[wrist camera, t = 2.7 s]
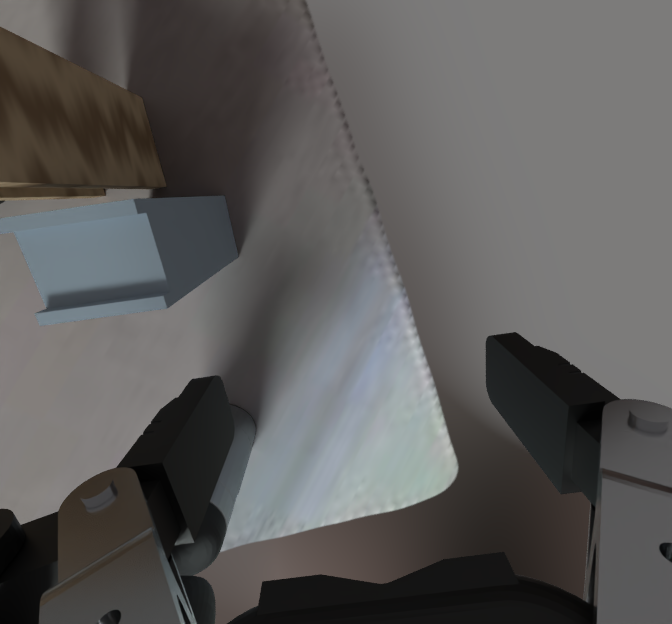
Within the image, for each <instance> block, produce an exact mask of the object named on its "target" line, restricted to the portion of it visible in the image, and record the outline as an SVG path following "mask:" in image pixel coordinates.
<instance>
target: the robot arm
mask: <svg viewBox="0 0 672 624" xmlns="http://www.w3.org/2000/svg"><path fill="white" fill-rule="evenodd" d="M486 387H487V392H488V395H489V398H490V400H491V402H492V404H493V405H494V406H495V408H496V409H497V410H498V412H499V413H500V414H501V416H502V417H503V418H504V419H505V421H506V422H507V424H508V425H509V426H510V428H511V429H512V430H513V432H514V433H515V434H516V436H517V437H518V438H519V440H520V441H521V442H522V444H523V445H524V446H525V448H526V449H527V450H528V452H529V453H530V454H531V456H532V457H533V458H534V459H535V460H536V462H537V463H538V465H539V466H540V467H541V468H542V470H543V471H544V473H545V474H546V475H547V477H548V478H549V479H550V481H551V482H552V483H553V485H554V486H555V487H556V489H557V490H558V491H559V492H560V494H567V493H574V492H583V493H584V495H585V496H586V497H587V498H588V500H589V501H590V502H591V507H590V516H589V531H588V545H587V561H586V575H585V588H584V598H583V600H582V599H581V598H579V597H577V596H575V595H573V594H571V593H569V592H567V591H565V590H563V589H561V588H559V587H557V586H554V585H551V584H549V583H546V582H543V581H540V580H537V579H533V578H529V577H526V576H521V575H515V574H514V572H513V570H512V568H511V565H510V563H509V561H508V559H507V557H506V555H505V553H504V552H499V553H492V554H483V555H475V556H467V557H459V558H451V559H443V560H441V561H439V562H436V563H434V564H432V565H430V566H427V567H425V568H422V569H420V570H418V571H416V572H413V573H411V574H408V575H406V576H404V577H401V578H399V579H397V580H394V581H392V582H389V583H386V584H377V583H370V582H364V581H358V580H351V579H346V578H339V577H333V576H327V575H313V576H305V577H296V578H288V579H280V580H272V581H264V582H262V587H261V593H260V599H259V605H258V606H257V607H254V608H252V609H250V610H248V611H246V612H244V613H243V614H241V615H239V616H237V617H236V618H234V619H233V620H232V621H230V622H229V623H227V624H672V409H671V408H669V407H666V406H663V405H660V404H657V403H654V402H648V401H644V400H636V399H619V398H618V397H617V396H615V395H614V394H612V393H611V392H610V391H608V390H607V389H605V388H604V387H603V386H601V385H600V384H599V383H597V382H596V381H595V380H593V379H592V378H590V377H589V376H588V375H586V374H585V373H581V371H580V370H579V369H578V368H577V367H575V366H574V365H570V362H568V361H567V360H566V359H564V358H563V357H562V356H560V355H559V354H557V353H556V352H553V351H550V350H547V349H545V348H542V347H540V346H533V345H532V344H531V343H530V342H528V341H527V340H526V339H524V338H523V337H522V336H521V335H519V334H518V333H516V332H513V333H506V334H499V335H492V336H488V338H487V340H486ZM255 434H256V427H255V423H254V421H253V419H252V418H251V416H250V415H249V414H248V413H247V412H245V411H244V410H242V409H241V408H239V407H236V406H233V405H229V402H228V399H227V395H226V392H225V388H224V385H223V382H222V380H221V378H220V377H219V376H210V377H203V378H196V379H192V380H191V381H190V382H189V383H188V385H187V386H186V387H185V389H184V390H183V392H182V393H181V394H180V396H179V397H178V398H175V399H173V400H172V401H171V402H169V403H168V404H167V405H166V406H164V407H163V408H162V409H160V411H159V412H158V413H157V415H156V416H155V417H154V419H153V420H152V421H151V424H149V425H148V427H147V428H146V429H145V430H144V432H143V435H141V436H140V437H139V438H138V440H137V441H136V442H135V444H134V445H133V446H132V448H131V449H130V450H129V452H128V453H127V454H126V455H125V457H124V458H123V459H122V461H121V462H120V463H119V465H118V466H117V467H116V468H114V469H110V470H107V471H104V472H102V473H100V474H98V475H96V476H94V477H92V478H90V479H88V480H87V481H85V482H84V483H82V484H81V485H80V486H78V487H77V488H76V489H75V490H74V491H72V492H71V493H70V494H69V495H68V496H67V498H66V499H65V500H64V501H63V503H62V505H61V506H60V509H59V511H58V512H55V513H53V514H50V515H47V516H44V517H42V518H39V519H36V520H33V521H31V522H28V523H25V524H22V525H20V523H19V522H18V520H17V518H16V517H15V515H14V514H13V512H12V511H11V510H8V509H0V624H215V597H214V592H213V589H212V587H211V585H210V584H209V583H208V582H207V580H205V579H204V578H201V577H197V576H193V575H195V574H197V573H199V572H201V571H202V570H204V569H205V568H207V567H208V566H209V565H211V564H212V562H213V561H214V560H215V559H216V557H217V556H218V554H219V552H220V550H221V547H222V544H223V541H224V537H225V534H226V531H227V527H228V524H229V521H230V517H231V514H232V511H233V507H234V504H235V501H236V497H237V495H238V493H239V490H240V487H241V483H242V480H243V477H244V473H245V470H246V467H247V463H248V460H249V457H250V453H251V450H252V445H253V441H254V438H255Z"/></svg>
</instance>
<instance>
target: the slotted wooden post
mask: <svg viewBox="0 0 672 624" xmlns="http://www.w3.org/2000/svg"><path fill="white" fill-rule="evenodd" d="M163 187H167V186H166V182H165V179H164V175H163V171H162V168H161V164H160V161H159V157H158V153H157V150H156V146H155V143H154V139H153V135H152V132H151V128H150V125H149V121H148V117H147V114H146V110H145V107H144V103H143V99H142V97H140V96H138V95H136V94H134V93H132V92H130V91H128V90H126V89H124V88H122V87H120V86H118V85H116V84H114V83H112V82H110V81H108V80H106V79H104V78H102V77H100V76H98V75H96V74H94V73H92V72H90V71H88V70H86V69H84V68H82V67H80V66H78V65H76V64H74V63H72V62H70V61H68V60H66V59H64V58H62V57H60V56H58V55H56V54H54V53H52V52H50V51H48V50H46V49H44V48H42V47H40V46H38V45H36V44H34V43H32V42H30V41H28V40H26V39H24V38H22V37H20V36H18V35H16V34H14V33H12V32H10V31H8V30H6V29H4V28H2V27H0V201H2V200H38V199H74V198H94V197H101V196H106V195H105V192H104V189H156V188H163Z"/></svg>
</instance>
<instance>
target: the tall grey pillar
mask: <svg viewBox="0 0 672 624" xmlns="http://www.w3.org/2000/svg"><path fill="white" fill-rule="evenodd" d="M11 232H14V234H15V236H16V239H17V241H18V243H19V246H20V248H21V250H22V253H23V255H24V257H25V260H26V262H27V264H28V267H29V269H30V271H31V274H32V276H33V278H34V280H35V283H36V285H37V287H38V290H39V292H40V294H41V297H42V299H43V301H44V304H45V306H46V308H47V309H45V310H42V311H40V312H37V313H35V316H36V318H37V320H38V323H39V325H40V326H43V325H50V324H57V323H65V322H72V321H79V320H86V319H94V318H101V317H108V316H116V315H123V314H130V313H138V312H145V311H152V310H160V309H167V308H169V307H170V306H171V305H173V304H174V303H175V302H177V301H178V300H180V299H181V298H182V297H184V296H185V295H187V294H188V293H189V292H191V291H192V290H193V289H195V288H196V287H198V286H199V285H200V284H202V283H203V282H204V281H206V280H207V279H209V278H210V277H211V276H213V275H214V274H216V273H217V272H218V271H220V270H221V269H222V268H224V267H225V266H227V265H228V264H229V263H231V262H232V261H233V260H235V259H236V258H238V252H237V248H236V243H235V239H234V235H233V230H232V226H231V221H230V217H229V213H228V208H227V204H226V200H225V195H223V196H198V197H172V198H146V199H130V200H123V201H116V202H109V203H102V204H96V205H89V206H82V207H75V208H68V209H61V210H54V211H47V212H41V213H34V214H27V215H20V216H13V217H6V218H0V234H3V233H11Z"/></svg>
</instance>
